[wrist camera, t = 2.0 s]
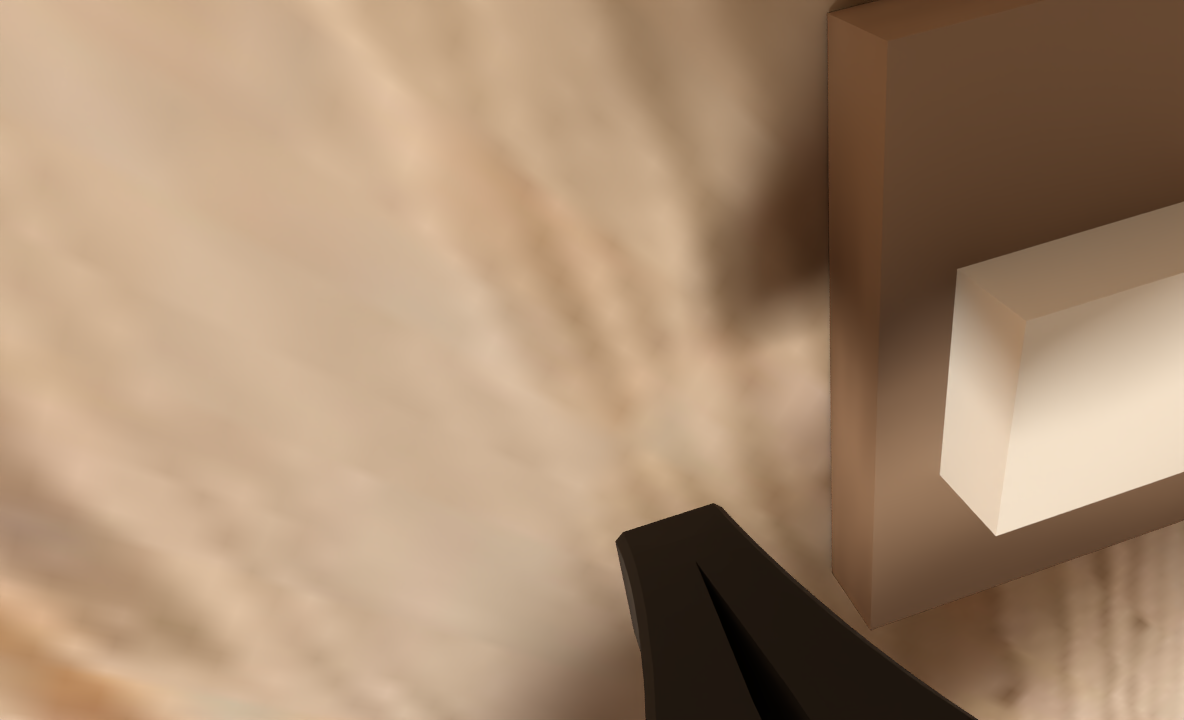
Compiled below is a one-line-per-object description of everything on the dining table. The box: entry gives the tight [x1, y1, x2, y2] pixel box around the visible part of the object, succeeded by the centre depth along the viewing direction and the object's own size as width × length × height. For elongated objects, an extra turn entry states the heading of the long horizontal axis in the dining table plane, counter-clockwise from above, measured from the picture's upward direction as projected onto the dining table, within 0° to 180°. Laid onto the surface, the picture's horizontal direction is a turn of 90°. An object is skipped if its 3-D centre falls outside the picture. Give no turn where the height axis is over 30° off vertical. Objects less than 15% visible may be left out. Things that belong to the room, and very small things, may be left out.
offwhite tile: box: [940, 202, 1184, 536], centre depth 14 cm, size 4×4×2 cm
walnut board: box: [827, 0, 1184, 630], centre depth 15 cm, size 11×10×2 cm
